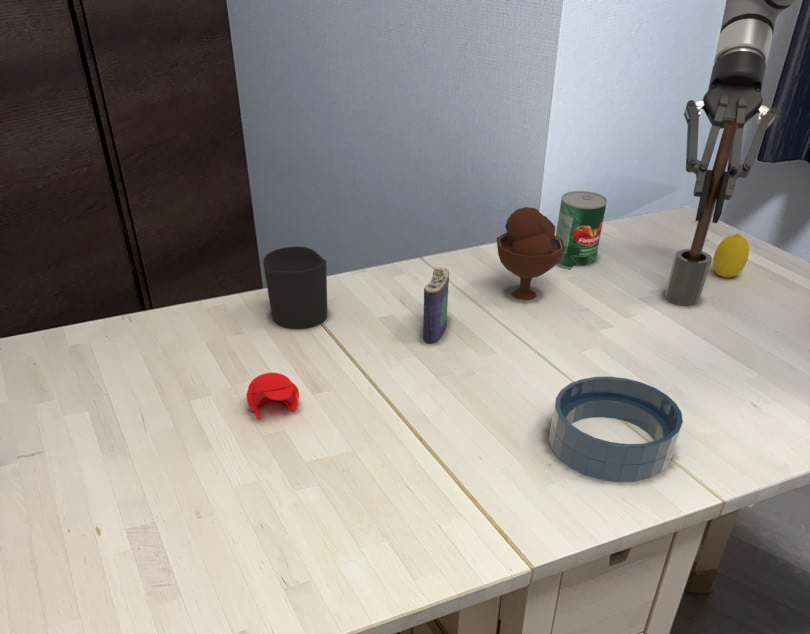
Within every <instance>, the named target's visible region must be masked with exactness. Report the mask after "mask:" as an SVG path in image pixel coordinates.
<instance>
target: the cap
mask: <svg viewBox="0 0 810 634" xmlns="http://www.w3.org/2000/svg"><path fill="white" fill-rule="evenodd" d="M299 400H300V391H299V388H298V386H297V385H296V384H295V383H294V382H292V380H291V379H290V378H289V377H288V376H287V375H285V374H282V373H279V372H265V373H262V374H259V375H258V376H256V377H255V378H252V380H251V382H250V383H249V384H248V387H247V391H246V402H247V404H248V406H249V408H250V411H251V412H253V413H254V416H255V419H256V421H261V420H262V416H261V413H260V410H259V409H260V407H261V406H262V405H264V403H266V402H269V401H280V402H282V403H284V404H285V405H286V406H287V412H288V413H289V412H291V413H295V412H296V409H297V407H298V405H299Z"/></svg>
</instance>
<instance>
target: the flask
mask: <svg viewBox="0 0 810 634" xmlns="http://www.w3.org/2000/svg"><path fill="white" fill-rule="evenodd" d="M432 269H433V272H432V278H431V279H430V281H429V282H428V283H427V285H425V286H424V288H423V317H422V320H423V328H422V329H423V330H422V331H423V332H422V335H423V336H422V340H423V342H424V343H426V344H428V345H433V344H436V343H438V342H439V341H440V340H441V339H442V337H443V336H444V334H445V332H446V329H447V325H448V324H447V323H448V318H447V317H448V305H449V304H448V303H449V285H450V271H449V268H447V267H441V266H439V267H438V266H433V267H432Z"/></svg>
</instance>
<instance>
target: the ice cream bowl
mask: <svg viewBox="0 0 810 634" xmlns="http://www.w3.org/2000/svg"><path fill="white" fill-rule="evenodd" d="M504 227H505V229H506V230H505V231H506V232H504V233H502V234H501V235H499V236H496V247H497V255H498V258H499V262H500V263H501V264H502V266H503V267H504V268H505V269H506V270H507V271H508V272H510V273H511V274H513V275H515V276H516V277H519V279H520V281H519V287H518V288H515V289H514V290H512V291H511V292H510V296H511V297H512V298H514V299H515V300H518V301H519V300H520V301H524V302H525V301H533V300H535V299H536V298H537V297H538V294H537V292H535V291H534V290H532V289H531V281H532V279H533V278H538V277H540V276H543V275H545V274H546V273H547V272H549V271H551V270H552V269H553V268H554V267H556V266H558V265H557V264H558V262H559V261H560V259H561V258H562V255H563V252H564V250H565V247H564V243H563V240H562V239H560V238H558V237H556V226H555V224H554V223H553V222H552V221H551V220H550V219H549V217H547V216H545V215H544V214H542V213H541V212H540V211H539V209H537V208H535V207H528V206H524V207H520V208H518V209H516V210H514V211H513V212H512V213H510V215H509V217H508V218H507V219H506V223H505V225H504Z"/></svg>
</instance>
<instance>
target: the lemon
mask: <svg viewBox="0 0 810 634" xmlns="http://www.w3.org/2000/svg"><path fill="white" fill-rule="evenodd" d="M749 256H750V245H749V243H748V240H747V239H746V238H744V237H743V236H742V235H741V234H740V233H735V234H731V235H728V236H726V237H725V238H723V239H722V240H721V241H720V243H719V244H718V246H717V247H716V249H715V252H714V254H713V257H712V267H713V270H714V271H715V273H716V274H717V275H718V276H720V277H722V278H725V279H727V278H733V277H735V276H738V275H739V274H740V273H741V272H742V271H743V270H744V268H745V267H746V264H747V263H748V260H749Z"/></svg>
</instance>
